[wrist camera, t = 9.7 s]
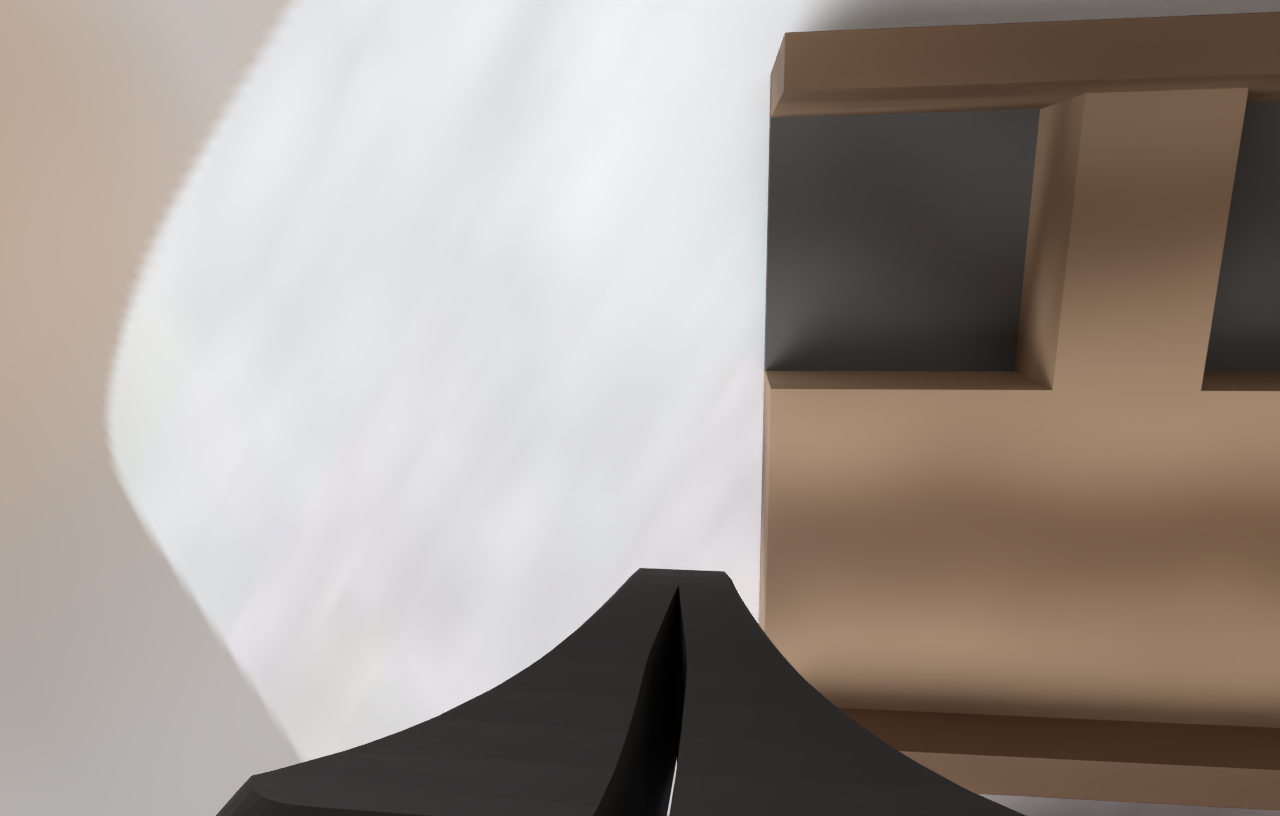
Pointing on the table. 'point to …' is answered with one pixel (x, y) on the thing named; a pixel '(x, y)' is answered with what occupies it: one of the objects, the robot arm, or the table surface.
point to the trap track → (1032, 399)
